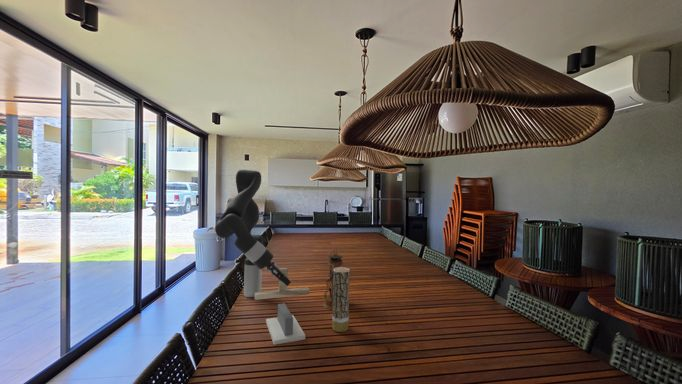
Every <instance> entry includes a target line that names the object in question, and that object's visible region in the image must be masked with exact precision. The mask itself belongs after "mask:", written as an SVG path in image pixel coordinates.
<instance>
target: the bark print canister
mask: <svg viewBox="0 0 682 384" xmlns="http://www.w3.org/2000/svg"><path fill="white" fill-rule="evenodd" d="M350 274H351V273H350V268H349V267H345V266H343V267H336V268H334V273H333V310H332V317H331V318H332V322H331V323H332V325H331V326H332V330H333V331H334V332H336V333H343V332H344V333H345V332H346V331H348V330H349V321H350V320H349V319H350V318H349V317H350V316H349V315H350V278H351V275H350Z"/></svg>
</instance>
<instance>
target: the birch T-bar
mask: <svg viewBox="0 0 682 384" xmlns="http://www.w3.org/2000/svg"><path fill="white" fill-rule="evenodd" d="M279 269H280V270H281V272H282V273H283V274H284V275H285V277H287V278H288V268H287V267H279ZM280 276H281V275H280ZM280 276H279V277H280ZM305 295H310V288H309V287H297V288H288V286H286V285H285V284H284V283H283V282H282V281H280V280H279V279H278V287H277V289H276V290H267V291H266V290H265V291H261V292H255V294H254V297H253V298H254V300H255V301H257V300H265V299H266V300H267V299H275V298H276V299H277V298H278V299H279V298H285V297H287V298H288V297H294V296H296V297H297V296H305Z"/></svg>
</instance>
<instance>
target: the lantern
mask: <svg viewBox="0 0 682 384" xmlns="http://www.w3.org/2000/svg"><path fill="white" fill-rule="evenodd" d="M335 250H336V249H334V251H333V252H334V254H331V255H328V258H329V260H328V268H327V270H328V271H329V273H328V276H327V277H328V278H329V279H327V280H326V281H325V285H326V286H327V287H326V288H325V292H324V302H323V303H322V306H323V308H325V309H326V310H331V311H333V273H334V268H336V267H344V264H343V260H342V259H343V256H342V255H340V254H338V253H337V252H336V251H335ZM328 293H329V294H328Z"/></svg>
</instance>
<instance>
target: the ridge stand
mask: <svg viewBox="0 0 682 384" xmlns="http://www.w3.org/2000/svg"><path fill="white" fill-rule="evenodd" d="M265 323H266V325H267V329H268V332H269V336H270V338H271V340H272V343H273V345H274V346H275V345H281V344H287V343H294V342H298V341H302V340H306V334H305V332H304V330H303V329H302V327H301V326H300V323H299V322H298V320H297V319H296V318H295V316H294V315H293V314H291V312H290V310H289V308H288V306H287V305H286V303H278V304H277V317H271V318H266V319H265Z"/></svg>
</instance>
